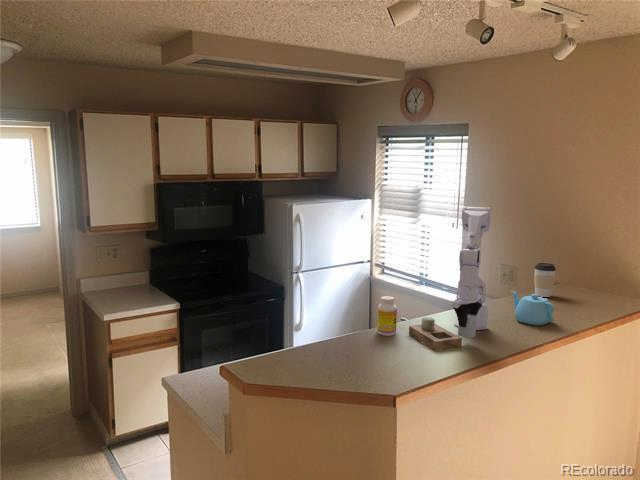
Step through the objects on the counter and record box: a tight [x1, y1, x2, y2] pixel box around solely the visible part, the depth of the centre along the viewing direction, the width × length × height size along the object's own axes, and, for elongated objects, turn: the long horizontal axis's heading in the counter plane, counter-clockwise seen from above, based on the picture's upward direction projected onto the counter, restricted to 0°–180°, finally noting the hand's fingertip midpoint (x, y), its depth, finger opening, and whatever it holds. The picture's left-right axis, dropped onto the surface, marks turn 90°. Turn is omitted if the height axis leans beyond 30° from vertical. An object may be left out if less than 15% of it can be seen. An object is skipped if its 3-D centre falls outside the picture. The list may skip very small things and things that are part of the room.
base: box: [408, 317, 463, 351], centre depth 172 cm, size 10×16×6 cm, turn 20°
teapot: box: [510, 290, 555, 326], centre depth 194 cm, size 13×11×18 cm
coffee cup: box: [533, 262, 557, 298], centre depth 231 cm, size 9×9×15 cm
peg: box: [457, 314, 477, 340], centre depth 168 cm, size 4×4×7 cm
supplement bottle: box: [376, 295, 398, 337], centre depth 178 cm, size 7×7×13 cm
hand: (466, 325), depth 168 cm, fingers closed on peg, 4 cm apart
